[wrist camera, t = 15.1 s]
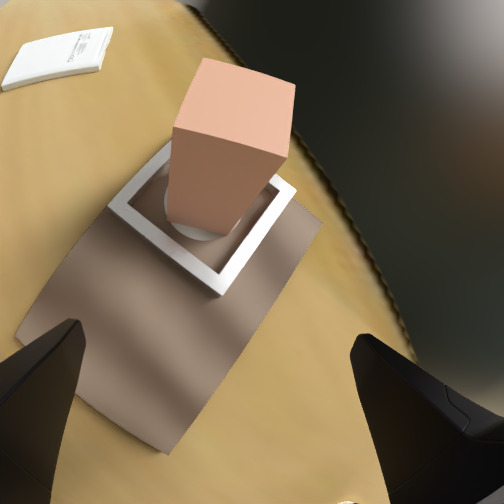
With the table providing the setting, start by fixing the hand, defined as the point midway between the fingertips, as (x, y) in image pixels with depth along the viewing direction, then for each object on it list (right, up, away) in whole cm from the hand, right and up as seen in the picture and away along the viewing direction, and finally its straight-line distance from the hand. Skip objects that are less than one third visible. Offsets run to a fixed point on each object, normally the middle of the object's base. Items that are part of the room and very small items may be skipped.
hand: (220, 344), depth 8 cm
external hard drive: (-21, +25, +13) cm, 35 cm away
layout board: (-5, +1, +12) cm, 13 cm away
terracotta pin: (-3, +7, +13) cm, 15 cm away
